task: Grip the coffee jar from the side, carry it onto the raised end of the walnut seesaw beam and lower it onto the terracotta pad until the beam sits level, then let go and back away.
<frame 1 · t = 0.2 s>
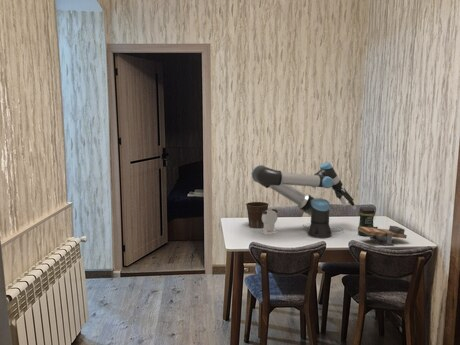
hand: (350, 207, 270), 15 cm above the table, tool tilted 35°, fingers open, 13 cm apart
white sculpture: (269, 232, 262), on the table
coffee jar: (365, 235, 254), on the table
plant pot: (257, 226, 277), on the table
seesaw beam: (382, 230, 238), point 7 cm above the table, hinge at 8.0°
beam stand: (381, 241, 239), on the table
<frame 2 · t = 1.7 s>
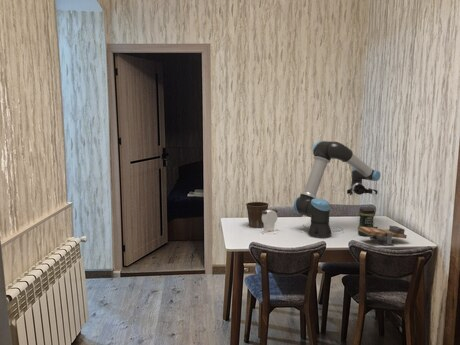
hand: (364, 194, 260), 26 cm above the table, tool horizontal, fingers open, 13 cm apart
nothing on the table moved.
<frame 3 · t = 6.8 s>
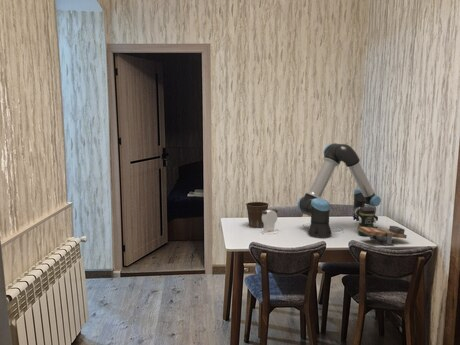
hand: (368, 221, 248), 11 cm above the table, tool horizontal, fingers closed on coffee jar, 8 cm apart
coffee jar: (365, 235, 254), on the table, touching gripper
everything else where it was.
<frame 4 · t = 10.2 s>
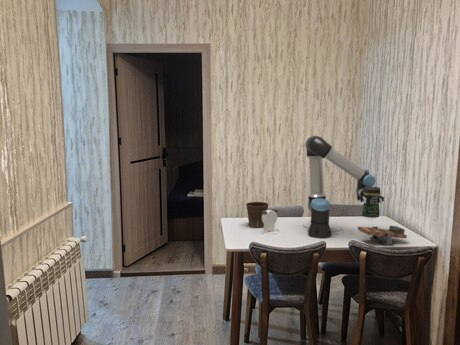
hand: (373, 201, 229), 27 cm above the table, tool horizontal, fingers closed on coffee jar, 8 cm apart
coffee jar: (370, 217, 235), point 16 cm above the table, touching gripper
everything else where it was.
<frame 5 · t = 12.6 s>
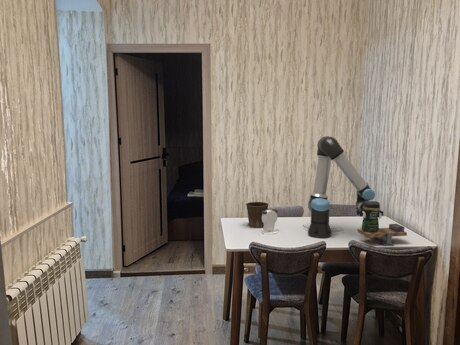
hand: (372, 216, 230), 18 cm above the table, tool horizontal, fingers closed on coffee jar, 8 cm apart
coffee jar: (370, 231, 236), point 7 cm above the table, touching gripper, seesaw beam
seesaw beam: (381, 230, 238), point 7 cm above the table, hinge at 0.4°, touching coffee jar
everything else where it was.
when the fingers open (18 cm above the table, at t = 13.6 s): coffee jar stays where it is, resting on seesaw beam.
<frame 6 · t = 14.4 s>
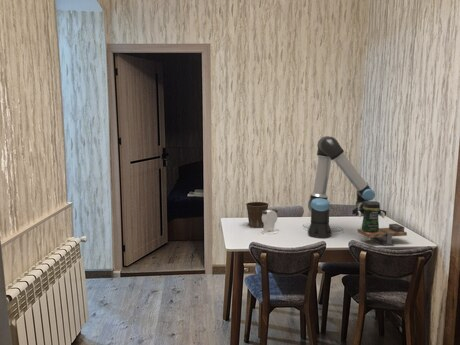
hand: (372, 215, 232), 18 cm above the table, tool horizontal, fingers open, 13 cm apart
coffee jar: (370, 231, 236), point 7 cm above the table, touching seesaw beam
everything else where it was.
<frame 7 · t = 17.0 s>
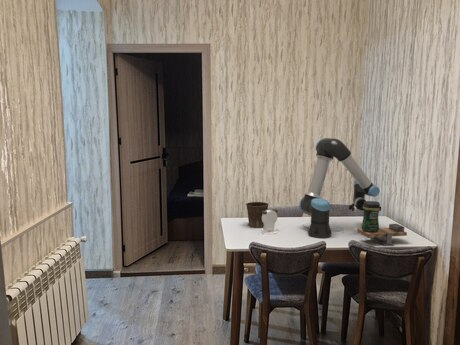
hand: (367, 210, 244), 18 cm above the table, tool horizontal, fingers open, 13 cm apart
nothing on the table moved.
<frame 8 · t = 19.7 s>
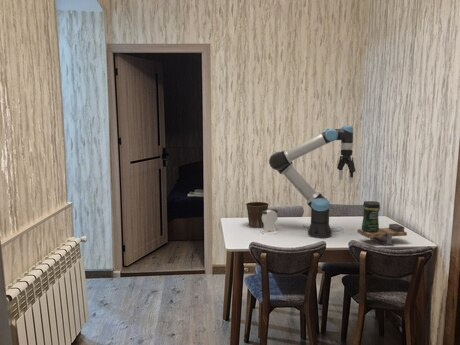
hand: (345, 181, 259), 35 cm above the table, tool pointing down, fingers open, 13 cm apart
nothing on the table moved.
at the end: seesaw beam at +0° (first picture: +8°); coffee jar inside the target area on the seesaw beam (0.1 cm from its centre), point 1.1 cm above the seesaw beam's base; coffee jar tilted 0° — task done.
